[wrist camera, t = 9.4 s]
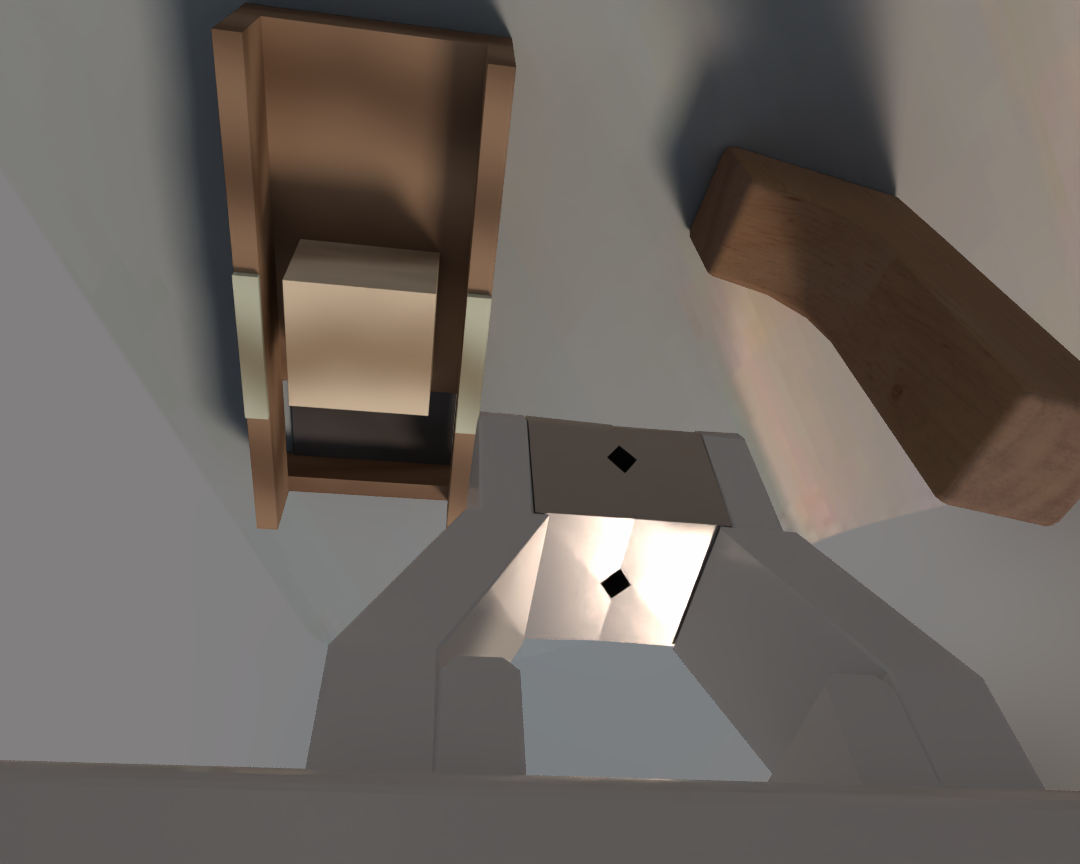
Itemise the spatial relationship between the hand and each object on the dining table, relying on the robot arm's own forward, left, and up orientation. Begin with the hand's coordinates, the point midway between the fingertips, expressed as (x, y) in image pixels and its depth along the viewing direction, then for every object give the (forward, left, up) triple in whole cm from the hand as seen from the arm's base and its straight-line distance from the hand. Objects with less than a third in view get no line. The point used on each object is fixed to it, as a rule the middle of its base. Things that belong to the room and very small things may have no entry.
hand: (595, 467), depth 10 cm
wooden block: (+7, +14, -29) cm, 33 cm away
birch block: (+13, -5, -27) cm, 30 cm away
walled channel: (+13, -5, -29) cm, 32 cm away
